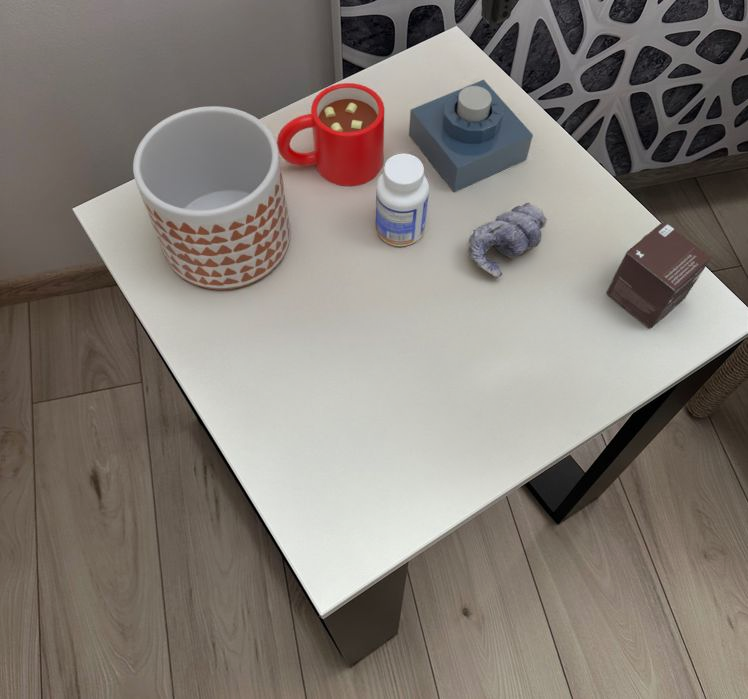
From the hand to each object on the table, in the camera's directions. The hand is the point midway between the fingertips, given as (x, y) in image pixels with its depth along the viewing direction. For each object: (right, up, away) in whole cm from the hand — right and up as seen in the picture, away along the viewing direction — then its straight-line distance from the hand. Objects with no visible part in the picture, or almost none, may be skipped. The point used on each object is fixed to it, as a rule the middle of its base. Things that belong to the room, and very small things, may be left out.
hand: (494, 19), depth 73 cm
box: (+17, -26, +7) cm, 32 cm away
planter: (-27, -20, +10) cm, 35 cm away
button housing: (-1, -8, +17) cm, 19 cm away
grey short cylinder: (-1, -5, +12) cm, 13 cm away
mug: (-16, -10, +16) cm, 25 cm away
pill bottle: (-9, -18, +11) cm, 23 cm away
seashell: (+3, -21, +10) cm, 23 cm away
